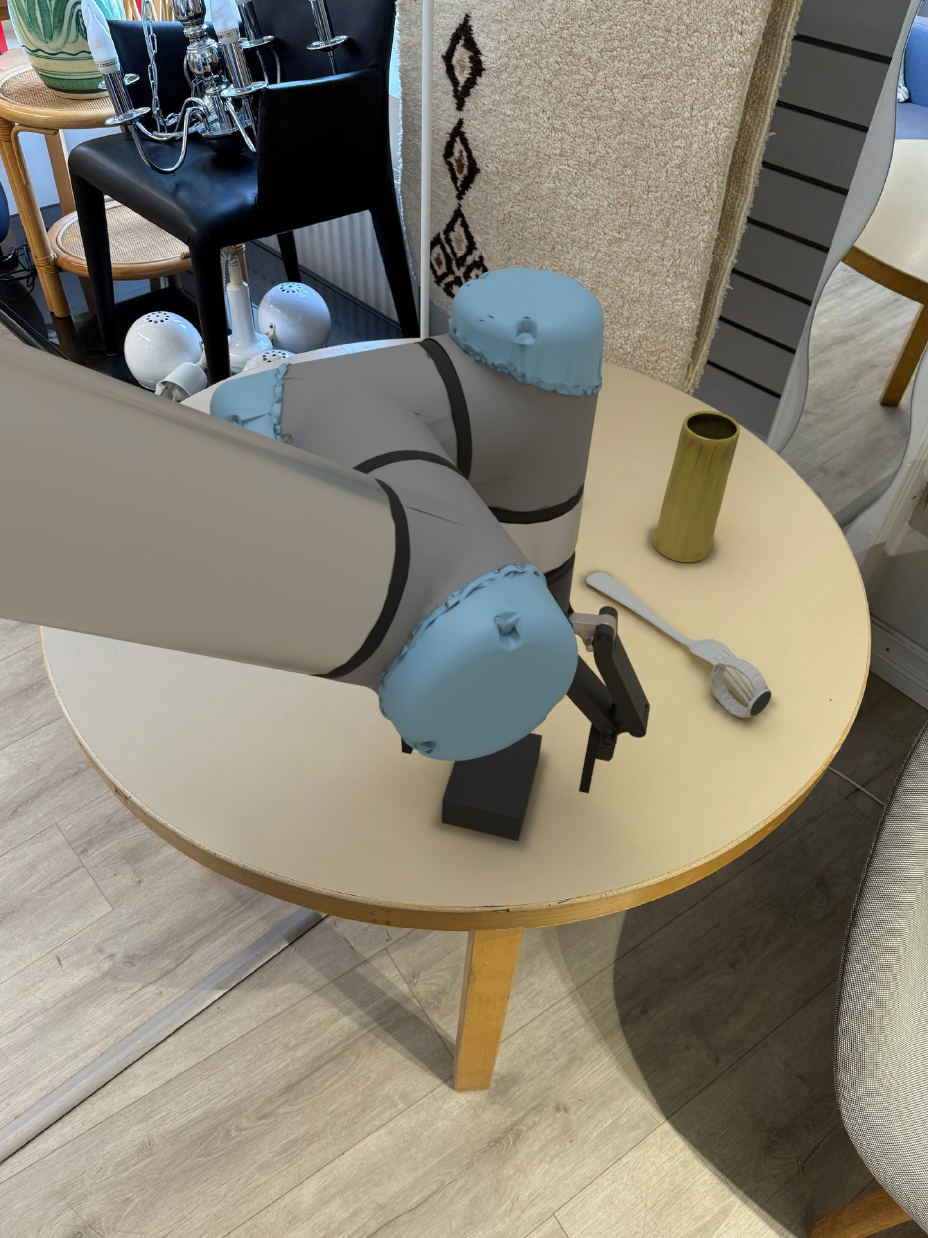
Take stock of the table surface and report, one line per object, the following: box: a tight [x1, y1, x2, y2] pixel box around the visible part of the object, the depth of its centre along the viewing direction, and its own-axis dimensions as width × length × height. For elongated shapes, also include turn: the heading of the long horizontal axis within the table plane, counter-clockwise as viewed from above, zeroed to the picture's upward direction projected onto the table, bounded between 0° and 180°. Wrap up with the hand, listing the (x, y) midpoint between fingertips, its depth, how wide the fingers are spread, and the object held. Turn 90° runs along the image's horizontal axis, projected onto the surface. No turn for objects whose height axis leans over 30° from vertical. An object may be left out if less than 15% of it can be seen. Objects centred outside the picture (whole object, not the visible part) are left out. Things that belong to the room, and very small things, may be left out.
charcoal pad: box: [441, 732, 543, 841], centre depth 70 cm, size 6×8×3 cm
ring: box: [709, 656, 772, 719], centre depth 76 cm, size 3×5×5 cm, turn 36°
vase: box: [652, 410, 741, 563], centre depth 89 cm, size 6×6×14 cm
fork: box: [585, 571, 754, 705], centre depth 84 cm, size 3×21×3 cm, turn 39°
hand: (497, 759), depth 69 cm, fingers open, 13 cm apart
